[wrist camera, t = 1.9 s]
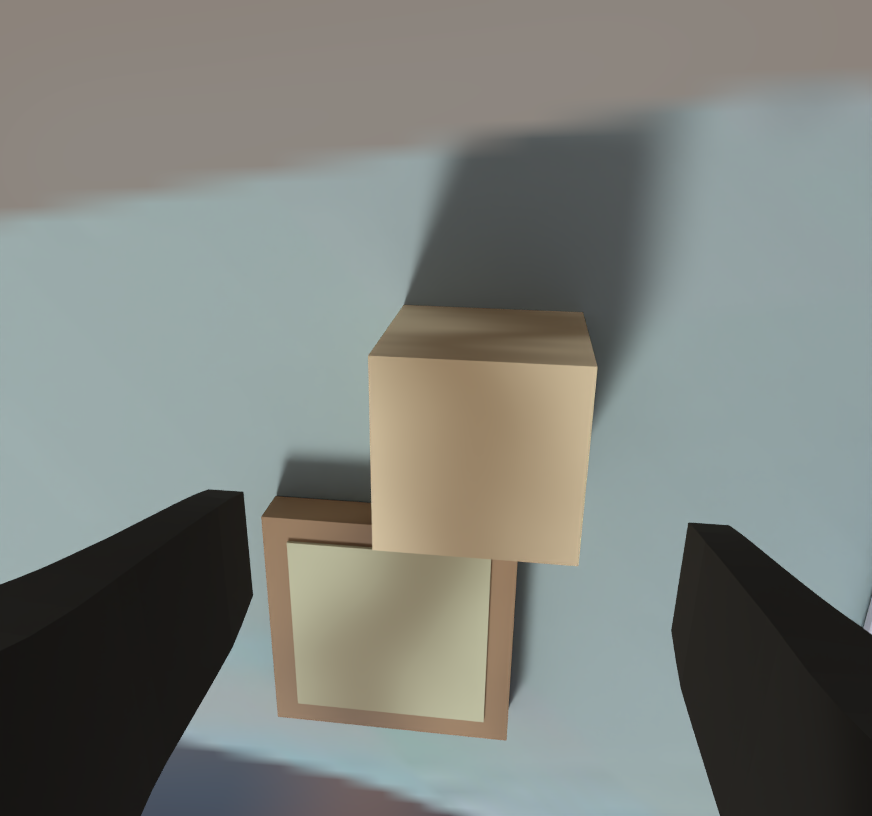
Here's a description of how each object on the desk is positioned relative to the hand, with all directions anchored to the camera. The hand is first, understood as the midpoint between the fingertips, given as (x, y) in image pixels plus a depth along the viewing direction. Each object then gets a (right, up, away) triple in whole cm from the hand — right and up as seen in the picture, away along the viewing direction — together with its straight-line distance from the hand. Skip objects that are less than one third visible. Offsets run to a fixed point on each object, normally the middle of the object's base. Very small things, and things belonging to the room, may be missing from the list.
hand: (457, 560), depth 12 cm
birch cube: (+1, +3, +8) cm, 8 cm away
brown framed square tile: (-2, -3, +10) cm, 11 cm away
